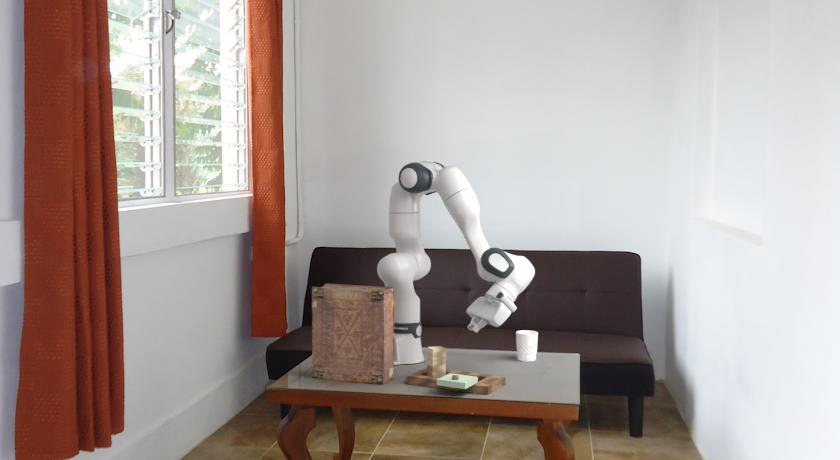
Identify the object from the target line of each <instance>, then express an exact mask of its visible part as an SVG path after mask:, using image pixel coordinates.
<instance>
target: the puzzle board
mask: <svg viewBox="0 0 840 460" xmlns="http://www.w3.org/2000/svg"><path fill="white" fill-rule="evenodd" d="M449 373H452V374H460V375H468V376H476V377H478V383H476V384H474V385H472V386H470V387H468V388H467V389H461V388H454V387H446V386H439V385H437V379H439V378H438V377H431V376H427V367H424V368H422V369H420V370H417V371H415V372H413V373H410V374H408V375H407V376H406V384H407V385H415V386H419V387H420V386H421V387H428V388H429V387H430V388H437V389H443V390H448V391H449V390H452V391H458V392H463V393H464V392H465V393H472V394H480V395H487V396H488V395H490V394H492V393H493V392H496V391H497V390H498V389H501V388H503V387H504V386H505V385H506V382H507V381H506V379H507V378H506V376H502V375H493V374H485V373H479V372H471V371H470V372H469V371H463V370H456V369H455V370H454V369H453V370H452V369H447V368H446V375H447V374H449Z"/></svg>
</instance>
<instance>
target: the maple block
mask: <svg viewBox="0 0 840 460" xmlns="http://www.w3.org/2000/svg"><path fill="white" fill-rule="evenodd" d="M426 350H427V355H426V356H427V360H426V362H427V364H426V365H427V376H431V377H438V378H441V377H443V376H445V375H446V369H447V365H446V364H447V363H446V360H447V349H446V348H445V347H443V346H441V345H436V346H427V348H426Z"/></svg>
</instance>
